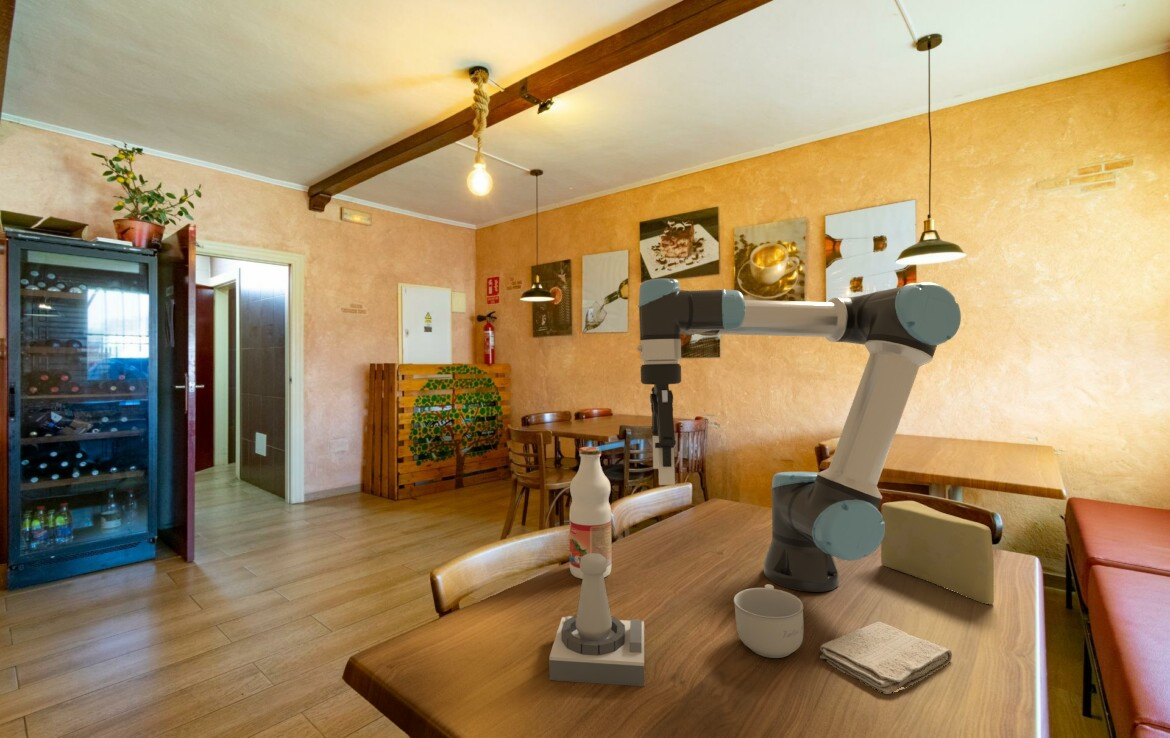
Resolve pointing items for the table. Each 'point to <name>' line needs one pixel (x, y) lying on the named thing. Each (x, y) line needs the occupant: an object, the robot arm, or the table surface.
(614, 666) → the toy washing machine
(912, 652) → the washcloth
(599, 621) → the bowling pin
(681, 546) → the table surface
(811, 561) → the robot arm
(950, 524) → the cheese
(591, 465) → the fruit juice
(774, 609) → the teacup
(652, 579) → the table surface
